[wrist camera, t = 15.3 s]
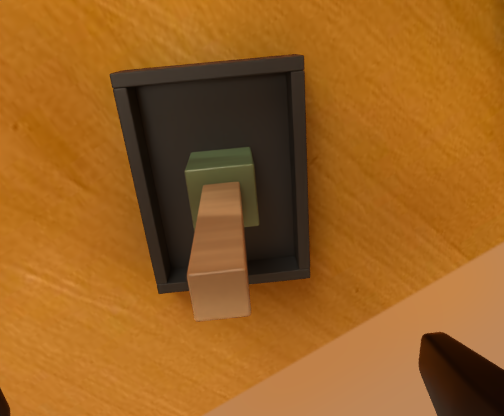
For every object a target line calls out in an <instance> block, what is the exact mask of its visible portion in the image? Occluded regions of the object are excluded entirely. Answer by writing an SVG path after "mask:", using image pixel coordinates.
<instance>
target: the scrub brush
mask: <svg viewBox="0 0 504 416" xmlns="http://www.w3.org/2000/svg"><path fill="white" fill-rule="evenodd" d="M185 178H186V184H187V190H188V196H189V202H190V208H191V214H192V220H193V226H194V231H195V233H194V238H193V244H192V249H191V255H190V260H189V266H188V271H187V281H188V286H189V291H190V297H191V302H192V308H193V313H194V318H195V320H196V321H207V320H217V319H226V318H235V317H245V316H250V314H251V305H250V293H249V281H248V269H247V257H246V245H245V233H244V227H251V226H258V225H259V214H258V203H257V191H256V180H255V169H254V162H253V157H252V152H251V148H250V147H241V148H231V149H221V150H211V151H201V152H192V153H191V154H190V157H189V160H188V163H187V166H186V169H185Z"/></svg>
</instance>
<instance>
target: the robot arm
mask: <svg viewBox="0 0 504 416" xmlns="http://www.w3.org/2000/svg"><path fill="white" fill-rule="evenodd" d="M419 370H420V373H421V376H422V378H423V381H424V383H425V386H426V388H427V391H428V393H429V396H430V398H431V401H432V403H433V406H434V408H435V411H436V413H437V416H504V370H503V369H502V368H500V367H498V366H497V365H495V364H494V363H492V362H490V361H489V360H487V359H485V358H484V357H482V356H481V355H479V354H478V353H476V352H474V351H473V350H471V349H470V348H468V347H466V346H465V345H463V344H462V343H460V342H458V341H457V340H455V339H454V338H452V337H450V336H449V335H447V334H445V333H443V332H436V333H427V334H424V335H423V336H422V339H421V347H420V355H419ZM0 416H10V407H9V405H8V403H7V401H6V399H5V397H4V395H3V393H2V391H1V389H0Z"/></svg>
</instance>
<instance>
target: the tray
mask: <svg viewBox="0 0 504 416" xmlns="http://www.w3.org/2000/svg"><path fill="white" fill-rule="evenodd" d="M303 70H304V56H303V55H297V54H292V55H282V56H271V57H260V58H250V59H239V60H229V61H218V62H208V63H197V64H186V65H176V66H165V67H155V68H144V69H134V70H123V71H119V72H115V73H111V74H110V79H111V84H112V87H113V88H114V89H113V92H114V97H115V101H116V106H117V110H118V114H119V119H120V123H121V128H122V132H123V137H124V141H125V146H126V150H127V155H128V159H129V163H130V168H131V172H132V177H133V181H134V186H135V190H136V195H137V199H138V204H139V208H140V212H141V217H142V221H143V226H144V230H145V235H146V239H147V244H148V248H149V253H150V257H151V261H152V266H153V270H154V275H155V279H156V283H157V289H158V293H159V294H163V293H172V292H182V291H189V286H188V281H187V271H188V266H189V260H190V255H191V249H192V244H193V238H194V233H195V231H194V226H193V220H192V214H191V208H190V202H189V196H188V190H187V184H186V178H185V169H186V166H187V163H188V160H189V157H190V154H191V153H192V152H201V151H211V150H221V149H231V148H241V147H250V148H251V152H252V157H253V162H254V169H255V180H256V191H257V203H258V214H259V225H258V226H251V227H244V233H245V245H246V257H247V269H248V281H249V284H258V283H267V282H277V281H286V280H296V279H305V278H310V251H309V216H308V181H307V146H306V111H305V76H304V71H303Z"/></svg>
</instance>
